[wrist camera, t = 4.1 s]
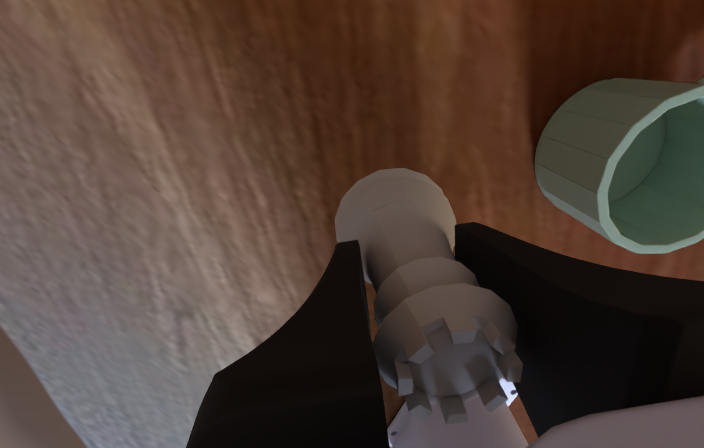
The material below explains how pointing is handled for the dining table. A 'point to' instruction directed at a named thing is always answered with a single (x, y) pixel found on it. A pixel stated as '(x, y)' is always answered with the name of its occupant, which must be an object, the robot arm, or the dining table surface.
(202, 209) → the dining table surface
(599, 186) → the pale green mug
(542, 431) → the robot arm
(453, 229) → the rook chess piece
